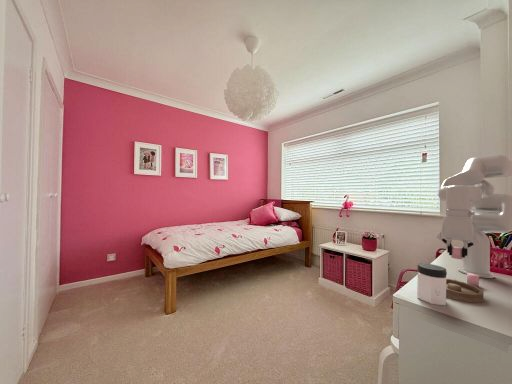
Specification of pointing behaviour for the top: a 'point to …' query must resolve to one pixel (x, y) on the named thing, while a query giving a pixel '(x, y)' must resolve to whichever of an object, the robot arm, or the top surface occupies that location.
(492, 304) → the top surface
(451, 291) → the tray
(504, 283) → the top surface
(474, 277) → the bead
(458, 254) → the bead
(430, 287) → the jar
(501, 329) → the top surface
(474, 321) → the top surface
